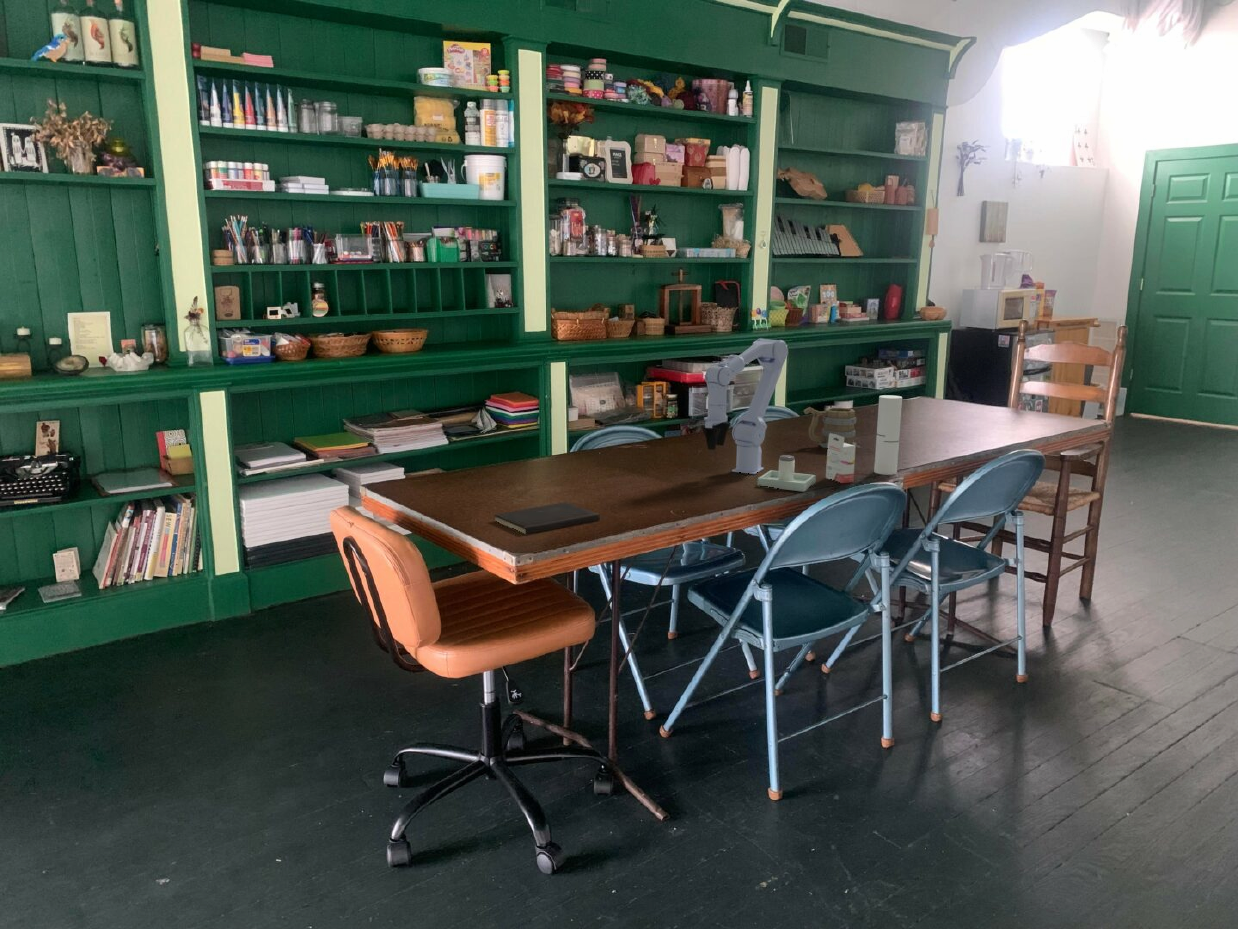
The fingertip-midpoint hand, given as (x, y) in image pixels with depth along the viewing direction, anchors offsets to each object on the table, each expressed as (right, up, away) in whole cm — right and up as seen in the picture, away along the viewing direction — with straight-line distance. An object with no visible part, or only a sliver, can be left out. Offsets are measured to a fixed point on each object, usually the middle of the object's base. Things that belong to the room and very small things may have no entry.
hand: (715, 447), depth 296 cm
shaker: (+21, -11, -6) cm, 24 cm away
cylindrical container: (+57, -8, +12) cm, 59 cm away
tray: (+21, -12, -6) cm, 25 cm away
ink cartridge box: (+39, -11, 0) cm, 41 cm away
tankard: (+47, +1, +53) cm, 71 cm away
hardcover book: (-50, -21, -48) cm, 72 cm away
